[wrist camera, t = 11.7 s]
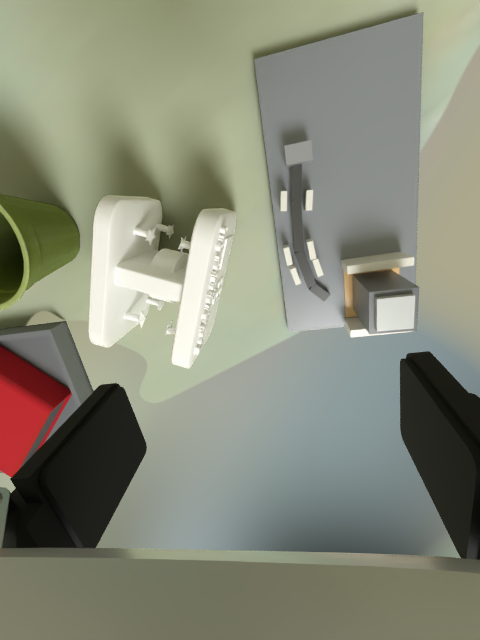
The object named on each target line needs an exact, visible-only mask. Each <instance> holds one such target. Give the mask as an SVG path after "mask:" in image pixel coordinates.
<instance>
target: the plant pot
mask: <svg viewBox="0 0 480 640" xmlns="http://www.w3.org/2000/svg"><path fill="white" fill-rule="evenodd" d="M79 248H80V247H79V232H78V229H77V227H76V225H75V223H74V221H73V220H72V218H71V217H70V216H69V215H68V214H67V213H66V212H65V211H64V210H62V209H61V208H59V207H57V206H54V205H51V204H47V203H42V202H37V201H31V200H26V199H21V198H16V197H11V196H6V195H1V194H0V310H1V309H5V308H7V307H9V306H11V305H13V304H14V303H16V302H17V301H18V300H19V299H20V298H21V297H22V295H23V294H24V292H25V291H26V290H27V289H29V288H30V287H31V286H32V285H33V284H34V283H35V282H37V281H39V280H40V279H42V278H44V277H45V276H47V275H48V274H50V273H52V272H54V271H55V270H57V269H59V268H60V267H62V266H64V265H65V264H67V263H69V262H70V261H72V260H73V259H74V258H75V257H76V255H77V253H78V251H79Z"/></svg>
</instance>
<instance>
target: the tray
mask: <svg viewBox="0 0 480 640" xmlns="http://www.w3.org/2000/svg"><path fill="white" fill-rule="evenodd" d="M0 345H1V346H3V347H4V348H6V349H7V350H9V351H10V352H12V353H14V354H15V355H17V356H18V357H20V358H21V359H23V360H25V361H26V362H28V363H29V364H31V365H32V366H34V367H35V368H37V369H39V370H40V371H42V372H43V373H45V374H46V375H48V376H50V377H51V378H53V379H54V380H56V381H57V382H59V383H60V384H62V385H64V386H65V387H67V388H68V389H70V391H71V393H72V395H71V397H70V399H69V401H68V402H67V404H66V406H65V408H64V409H63V411H62V413H61V415H60V416H59V418H58V420H57V422H56V423H55V425H54V427H53V429H52V430H51V432H50V434H49V436H48V437H47V439H46V441H47V440H48V439H49V438H50V437H51V436H52V435H53V434H54V433H55V432H56V431H57V429H58V428H59V427H60V426H61V425H62V424H63V423H64V422H65V421H66V420H67V419H68V418H69V417H70V416H71V415H72V414H73V413H74V412H75V411H76V410H77V409H78V408H79V406H80V405H81V404H82V403H83V402H84V401H85V400H86V399H87V398H88V397H89V396H90V395H91V394H92V393H93V392H94V391H93V389H92V386H91V384H90V381H89V379H88V376H87V374H86V371H85V369H84V366H83V363H82V361H81V358H80V356H79V353H78V351H77V348H76V346H75V343H74V340H73V338H72V335H71V333H70V330H69V328H68V326H67V323H66V321H63V322H55V323H47V324H39V325H31V326H23V327H15V328H7V329H0ZM46 441H45V442H46ZM1 472H2V471H0V473H1ZM2 473H3V472H2Z"/></svg>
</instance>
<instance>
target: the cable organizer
mask: <svg viewBox="0 0 480 640" xmlns="http://www.w3.org/2000/svg"><path fill="white" fill-rule="evenodd" d="M236 220H237V215H236V212H235V211H232V210H228V209H224V208H212V209H203V210H202V211H201V212H200V213H199V215H198V217H197V220H196V222H195V225H194V229H193V233H192V237H191V242H189V241H185V240H186V237H185V238H184V239H183V238H182V237H181V244H180V246H179V248H178V249H181V252H179V251H175V250H170V249H161V250H160V251H158V247H159V239H160V232H161V231H163V232H166V233H167V234H166V235H169V239H170V237H171V234H173V233H174V231H173V226H174V224H173V225H172V226H170V225H169V226H165V225H161V224H162V205H161V202H160V201H159V200H156V199H153V198H149V197H139V196H117V195H106V196H104V197H103V198H102V199H101V200H100V202H99V204H98V206H97V208H96V212H95V216H94V223H93V244H92V266H91V288H90V310H89V338H90V341H91V342H92V343H93V344H96V345H100V346H103V347H106V348H108V347H110V346H112V345H113V344H114V343H116V342H117V341H118V340H119V339H120V338H122V337H123V336H124V335H125V334H126V333H128V332H129V331H130V330H131V329H133V328H134V327H135V326H136V325H138V324H139V323H140V325H141V327H142V325H143V323H144V321H145V318H146V317H147V314H148V311H149V308H150V305H151V304H153V305H157V306H158V308H157V310H158V309H159V310H161V307H162V306H163V305H164V303H163V300H164V301H167V302H171V303H176V302H180V307H179V313H178V319H177V325H176V328H172V327H173V326H172V322H171V323H170V325H167V331H166V333H165V335H166V334H167V335H168V334H171V335H175V336H174V342H173V348H172V363H173V364H174V365H178V366H181V367H185V368H188V369H189V368H190V367H191V366H192V364H193V363H194V361H195V359H196V357H197V356H198V354H199V352H200V350H201V349H202V347H203V345H204V344H205V342H206V340H207V338H208V337H209V335H210V333H211V331H212V328H213V325H214V322H215V318H216V313H217V309H218V304H219V300H220V296H221V291H222V287H223V282H224V278H225V273H226V269H227V264H228V260H229V256H230V251H231V247H232V242H233V238H234V233H235V228H236ZM186 236H187V235H186ZM183 248H185V249H189V254H188V253H184V252H182V250H183ZM152 297H153V298H156V299H153V298H152ZM157 299H160V300H157ZM161 300H162V301H161ZM157 310H156V311H157ZM172 321H173V320H172ZM165 335H164V336H165Z"/></svg>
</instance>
